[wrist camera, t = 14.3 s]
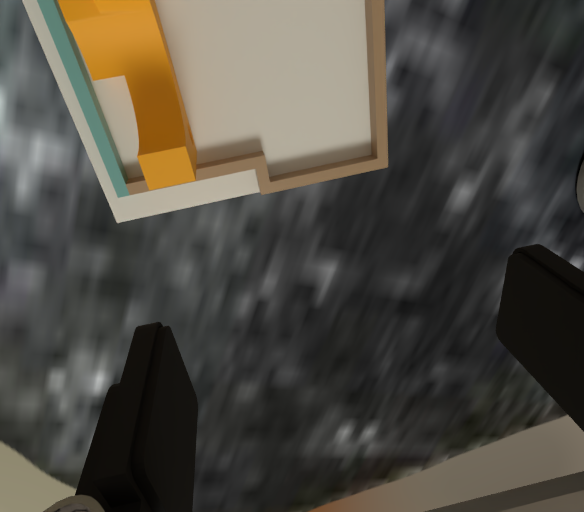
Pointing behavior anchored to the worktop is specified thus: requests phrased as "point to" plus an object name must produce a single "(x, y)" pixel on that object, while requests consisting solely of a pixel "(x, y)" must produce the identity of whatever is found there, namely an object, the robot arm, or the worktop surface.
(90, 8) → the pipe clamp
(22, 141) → the worktop surface
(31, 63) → the worktop surface
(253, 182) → the shallow rimmed tray
